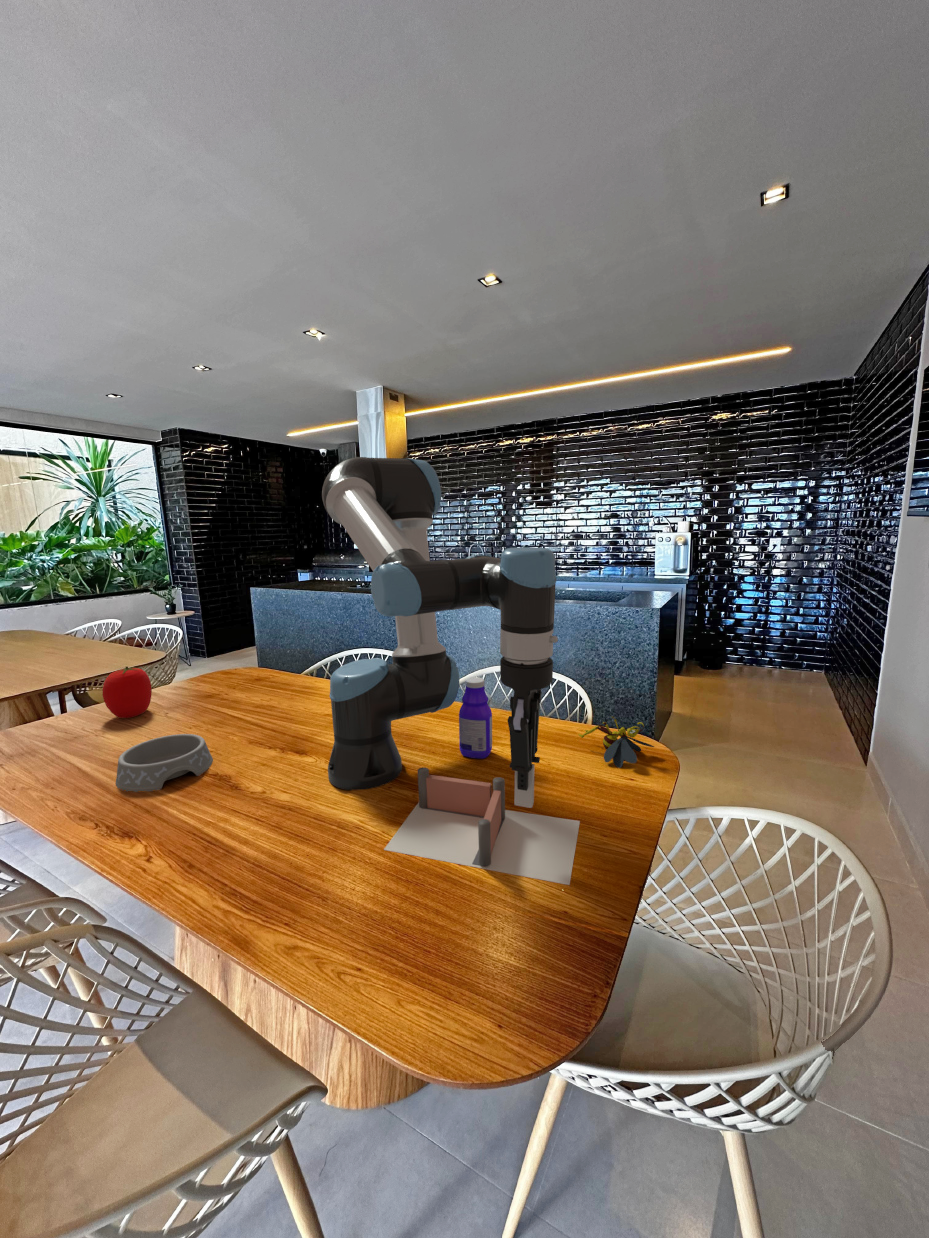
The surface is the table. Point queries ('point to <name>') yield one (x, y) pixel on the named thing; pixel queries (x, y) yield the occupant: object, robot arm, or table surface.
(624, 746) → the toy
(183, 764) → the dog bowl
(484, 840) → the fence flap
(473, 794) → the fence fixed
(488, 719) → the bottle
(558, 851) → the card
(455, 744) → the table surface
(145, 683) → the tomato
